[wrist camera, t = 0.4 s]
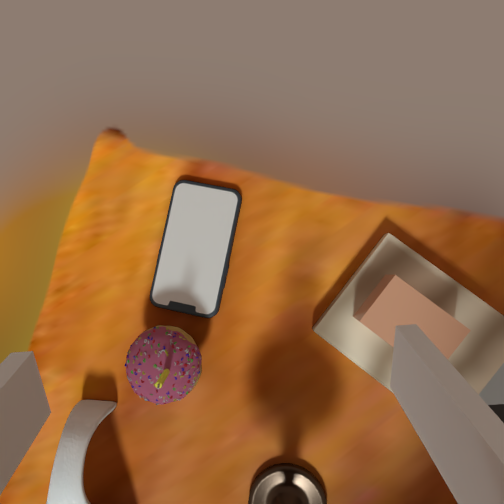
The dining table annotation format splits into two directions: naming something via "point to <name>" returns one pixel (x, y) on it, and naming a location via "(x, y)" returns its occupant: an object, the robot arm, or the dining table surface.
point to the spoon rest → (75, 452)
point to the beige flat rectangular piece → (432, 287)
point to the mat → (494, 389)
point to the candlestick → (286, 486)
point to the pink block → (409, 315)
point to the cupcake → (163, 364)
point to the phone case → (196, 248)
